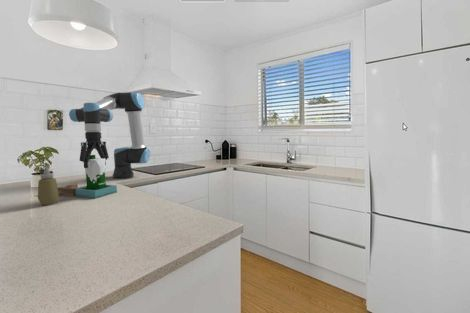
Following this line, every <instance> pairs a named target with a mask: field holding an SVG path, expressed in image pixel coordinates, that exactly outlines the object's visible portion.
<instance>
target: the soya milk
mask: <svg viewBox="0 0 470 313" xmlns="http://www.w3.org/2000/svg"><path fill="white" fill-rule="evenodd" d="M105 160H106V159H103V158H101V157H96V154H91V155H90V158H89V160H88V162H90V174H85V177H86V178H85V180H86V186H87V189H86V190H99V189H103V188H106V185H107V182H106V165H105Z"/></svg>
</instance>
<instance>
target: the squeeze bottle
mask: <svg viewBox="0 0 470 313" xmlns="http://www.w3.org/2000/svg"><path fill="white" fill-rule="evenodd" d="M37 186H38V188H37V199H38V201H39V203H40V205H42V206H50V205H54V204H57V203H58V198H59V196H60V195H59V193H58V182H57V179H56V178H55V177H54V174H53V173H51V172H50V170H49V167H48V166H45V167H44V168H43V174H41V175H40V179H39V180H38V185H37Z"/></svg>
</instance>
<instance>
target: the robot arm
mask: <svg viewBox="0 0 470 313" xmlns="http://www.w3.org/2000/svg"><path fill="white" fill-rule="evenodd" d="M144 101H145V100H144V98H143V96H142V94H141V93H139V92H137V91H136V92H135V91H131V92H129V91H127V92H125V91H124V92H114V93H112V94H109V95H106V96H103V97H102V99H100V100H98V101H96V102H84V103H83V107H81V108H72V109H70V110H69V112H68V113H69V114H68V116H69V118H70V120H71V121H72V122H74V123H84V131H85V133H84V136H85V139H86V141H83V142H80V155H79V162H82V163H83V168H84V171H85V172H84V173H85V175H86V174H90V162H88V160H89V158H90V155H92V151H94V149H95V150H96V151H97V154H98V156H99V158H103V159H106V160H108V159H109V153H108V149H107V141H102V140H101V139H102V133H101V131H102V126H101V125H102V124H101V122H103V123H108V122H111V121H112V120H113V118H114V114H113V110H117V109H118V110H121V109H122V110H124V112H125V113H126V114H127V119H128V126H129V132H130V139H131V146H125V147H119V148H115V149H114V150H113V158H114V159H113V161H114V170H113V173H112V178H113V179H126V178H132V177H134V175H135V174H134V171H133V168H132V164H147V163H148V162H149V160H150V158H151V150H150V149H149V148H147V145H146V144H145V143H144V142H145V141H144V135H143V125H142V118H141V113H142V111H143V109H144V107H145V102H144ZM106 160H105V166H106V164H107V161H106Z"/></svg>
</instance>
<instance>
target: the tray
mask: <svg viewBox="0 0 470 313" xmlns="http://www.w3.org/2000/svg"><path fill="white" fill-rule="evenodd" d="M82 187H83V186H82ZM78 188H79V187H78ZM86 189H87V187H83V188H79V189H76V196H75V197H78V198H88V199H95V200H96V199H99V198H102V197H105V196H106V197H107V196H108V195H112V194H115V193H118V191H117V190H118V189H117V185H114V184H113V185H112V184H106V188H103V189H99V190H86Z"/></svg>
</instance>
